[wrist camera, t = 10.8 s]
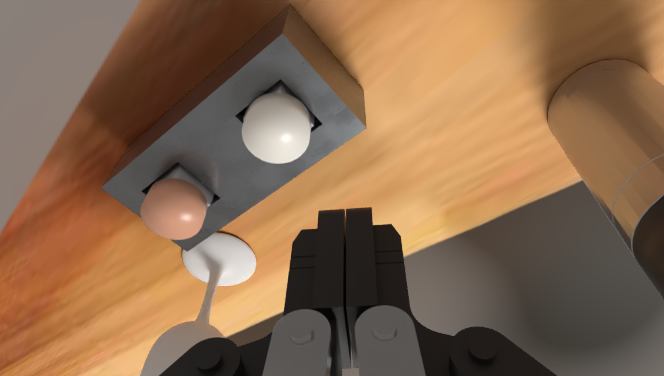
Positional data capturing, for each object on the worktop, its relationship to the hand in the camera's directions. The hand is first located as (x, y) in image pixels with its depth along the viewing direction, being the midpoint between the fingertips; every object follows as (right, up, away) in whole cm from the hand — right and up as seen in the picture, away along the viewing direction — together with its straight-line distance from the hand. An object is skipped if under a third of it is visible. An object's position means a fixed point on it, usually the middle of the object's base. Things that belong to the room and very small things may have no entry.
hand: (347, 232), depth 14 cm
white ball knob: (-5, +9, +30) cm, 31 cm away
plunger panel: (-9, +8, +34) cm, 36 cm away
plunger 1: (-14, +3, +34) cm, 37 cm away
